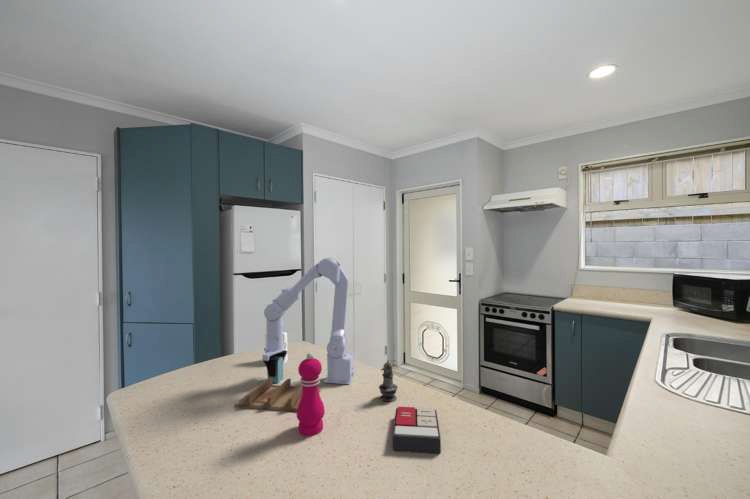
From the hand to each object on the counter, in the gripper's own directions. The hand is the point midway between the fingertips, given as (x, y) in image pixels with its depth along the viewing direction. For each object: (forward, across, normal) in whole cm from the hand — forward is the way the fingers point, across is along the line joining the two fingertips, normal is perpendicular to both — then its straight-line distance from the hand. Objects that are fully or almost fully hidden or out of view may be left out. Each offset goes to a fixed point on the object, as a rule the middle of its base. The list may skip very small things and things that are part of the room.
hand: (275, 373), depth 115 cm
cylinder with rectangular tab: (+3, -19, -9) cm, 21 cm away
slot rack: (+2, +13, +8) cm, 15 cm away
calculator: (+3, +26, +51) cm, 58 cm away
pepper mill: (+3, +28, +24) cm, 37 cm away
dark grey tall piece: (+3, +8, +42) cm, 43 cm away
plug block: (+2, 0, 0) cm, 2 cm away
